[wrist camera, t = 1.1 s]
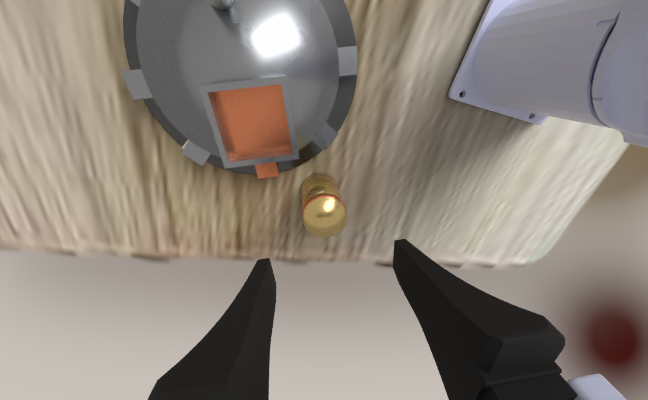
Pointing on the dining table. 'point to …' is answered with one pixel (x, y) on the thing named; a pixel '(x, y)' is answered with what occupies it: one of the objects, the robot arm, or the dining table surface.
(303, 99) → the grey toothed wheel
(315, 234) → the roller
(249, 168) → the base flange
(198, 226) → the dining table surface
